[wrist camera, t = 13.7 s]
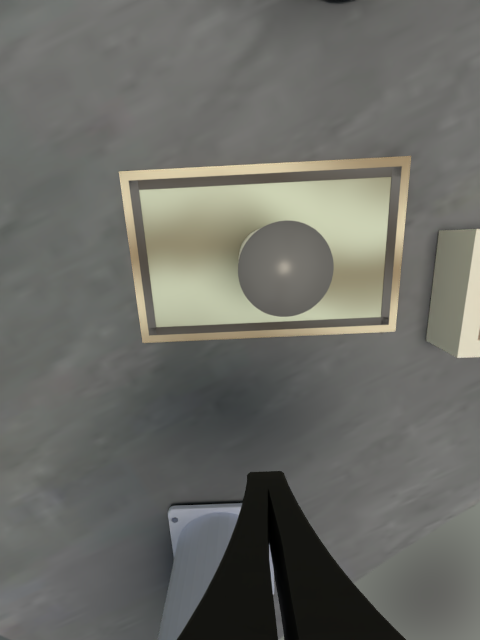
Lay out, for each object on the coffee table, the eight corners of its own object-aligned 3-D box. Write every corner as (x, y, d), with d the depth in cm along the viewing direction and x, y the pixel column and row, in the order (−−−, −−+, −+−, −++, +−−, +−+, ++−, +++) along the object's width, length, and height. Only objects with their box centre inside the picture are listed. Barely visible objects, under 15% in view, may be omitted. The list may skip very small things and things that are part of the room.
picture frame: (389, 327, 20) (396, 331, 19) (146, 338, 20) (142, 343, 19) (403, 159, 17) (411, 155, 16) (124, 174, 18) (118, 171, 17)
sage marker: (293, 282, 18) (332, 314, 11) (240, 284, 18) (240, 318, 11) (293, 226, 17) (335, 217, 10) (237, 229, 17) (235, 222, 10)
